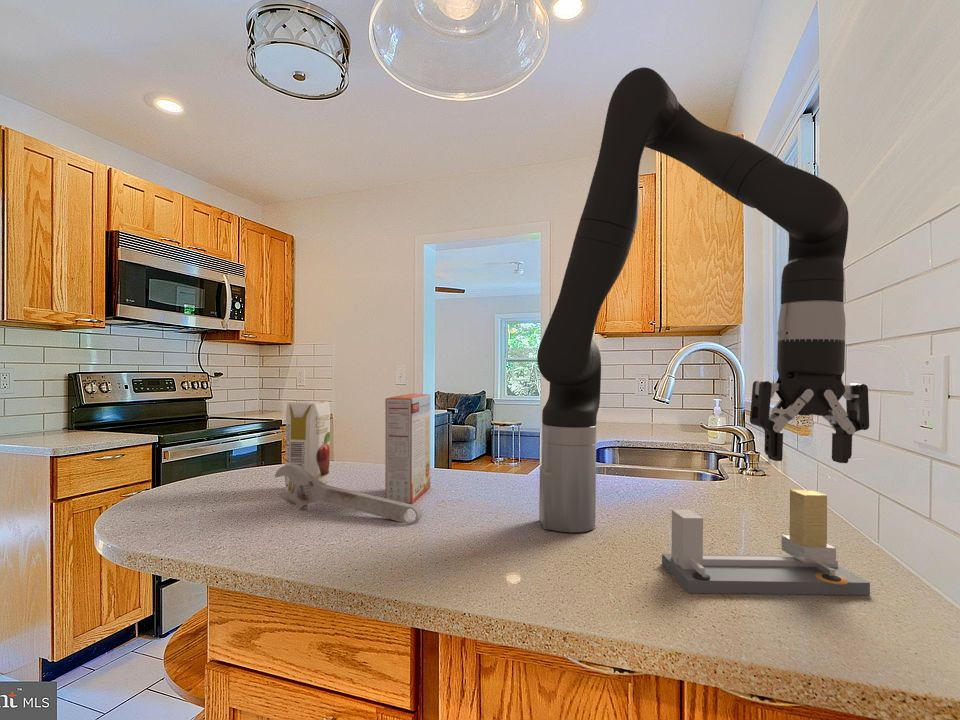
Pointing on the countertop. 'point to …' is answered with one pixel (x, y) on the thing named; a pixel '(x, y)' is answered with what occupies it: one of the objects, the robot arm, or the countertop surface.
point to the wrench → (340, 496)
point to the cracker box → (407, 447)
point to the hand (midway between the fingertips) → (807, 461)
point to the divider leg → (809, 530)
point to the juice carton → (308, 438)
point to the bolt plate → (747, 568)
